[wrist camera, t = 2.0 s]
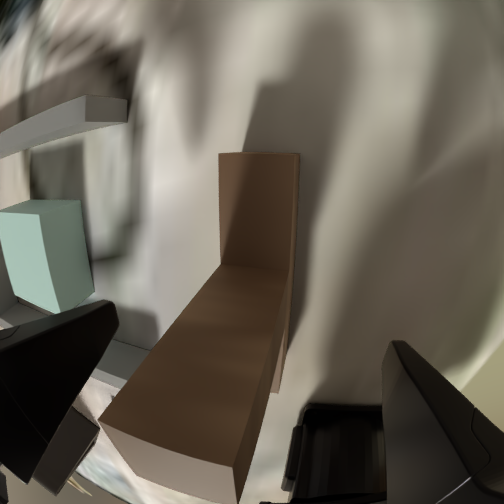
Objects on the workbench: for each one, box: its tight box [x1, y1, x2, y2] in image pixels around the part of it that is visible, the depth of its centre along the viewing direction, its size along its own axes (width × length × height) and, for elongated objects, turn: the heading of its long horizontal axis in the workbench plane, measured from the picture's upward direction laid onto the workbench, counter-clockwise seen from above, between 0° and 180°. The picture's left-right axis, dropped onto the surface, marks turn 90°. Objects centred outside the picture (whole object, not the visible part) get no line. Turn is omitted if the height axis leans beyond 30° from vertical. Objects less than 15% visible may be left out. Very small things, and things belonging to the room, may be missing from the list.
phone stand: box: [32, 406, 100, 496], centre depth 22 cm, size 9×6×12 cm, turn 148°
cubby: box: [0, 95, 151, 389], centre depth 15 cm, size 18×16×3 cm
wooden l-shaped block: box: [98, 152, 300, 504], centre depth 8 cm, size 2×10×10 cm, turn 0°
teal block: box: [0, 200, 95, 314], centre depth 14 cm, size 6×6×4 cm
